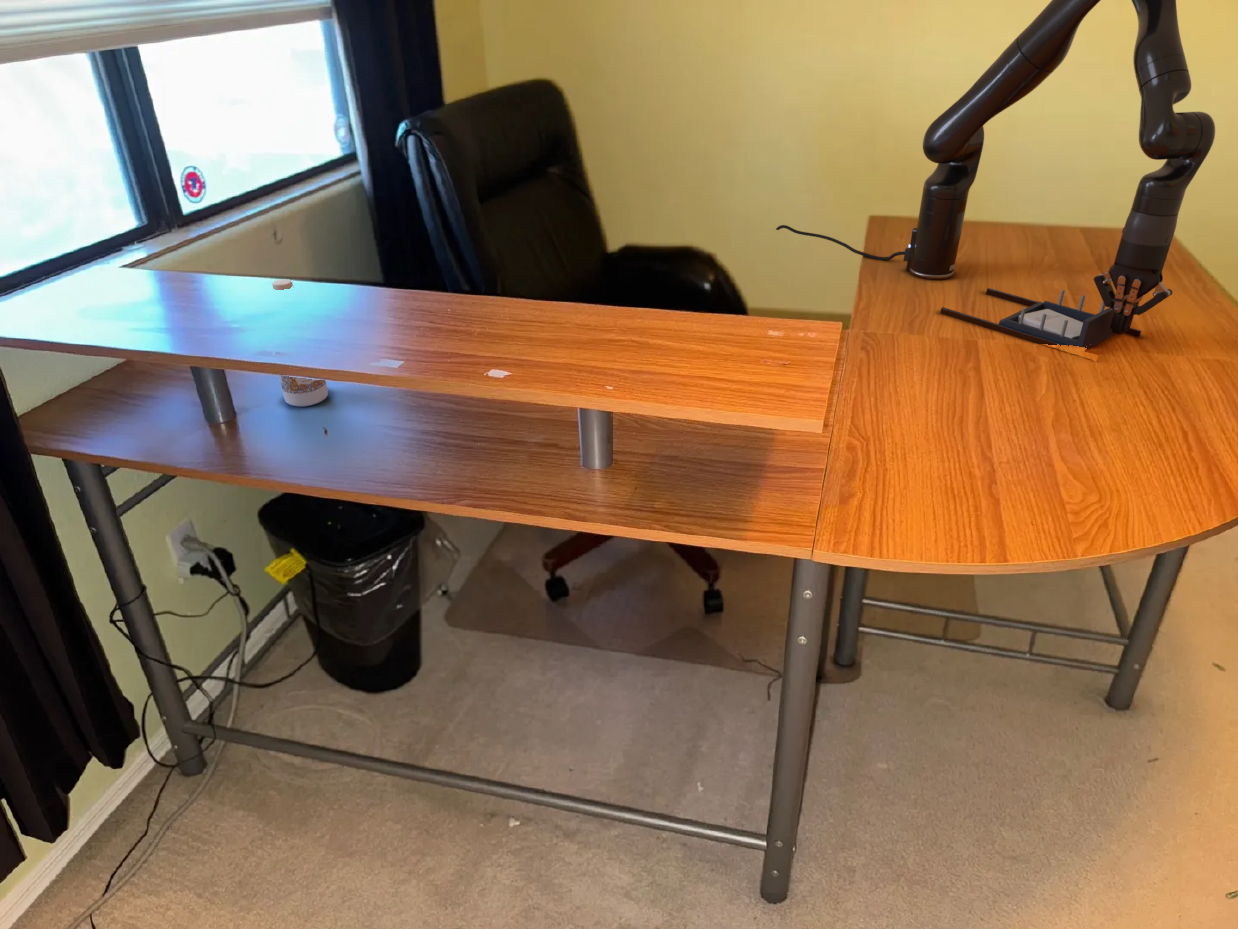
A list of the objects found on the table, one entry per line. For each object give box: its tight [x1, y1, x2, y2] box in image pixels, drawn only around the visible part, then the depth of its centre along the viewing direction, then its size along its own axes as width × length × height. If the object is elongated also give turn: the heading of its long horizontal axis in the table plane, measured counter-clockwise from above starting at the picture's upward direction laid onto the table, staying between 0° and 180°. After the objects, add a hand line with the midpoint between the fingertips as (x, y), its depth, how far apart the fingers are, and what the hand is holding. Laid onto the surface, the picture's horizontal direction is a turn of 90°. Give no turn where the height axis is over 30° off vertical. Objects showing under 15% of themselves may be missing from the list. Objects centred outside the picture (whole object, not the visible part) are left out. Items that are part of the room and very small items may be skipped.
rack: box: [998, 289, 1117, 350], centre depth 165 cm, size 16×15×6 cm
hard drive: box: [1017, 309, 1083, 340], centre depth 166 cm, size 2×8×12 cm
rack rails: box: [939, 287, 1142, 346], centre depth 169 cm, size 31×17×1 cm, turn 40°
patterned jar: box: [271, 278, 329, 407], centre depth 141 cm, size 7×7×20 cm
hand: (1118, 332), depth 158 cm, fingers closed
